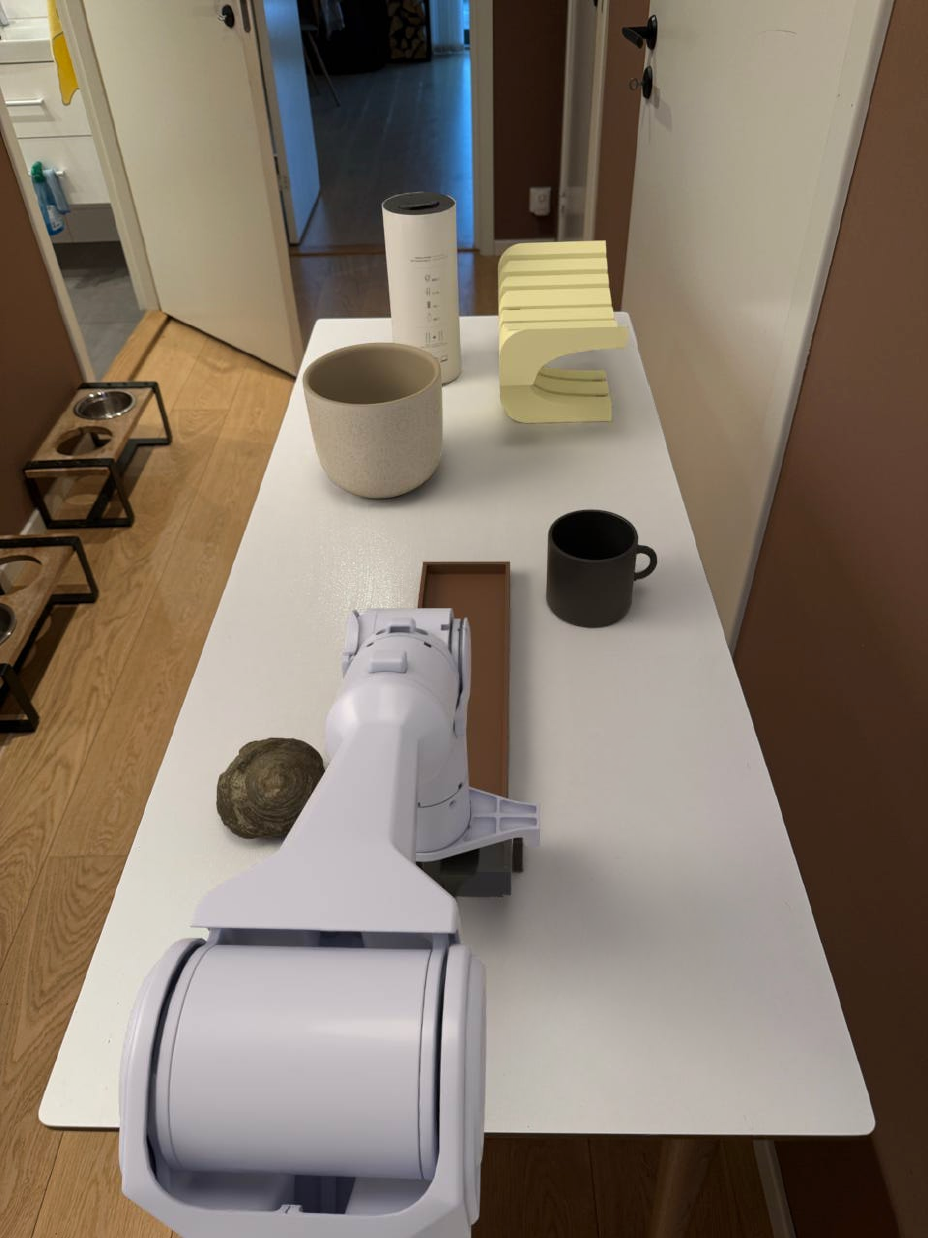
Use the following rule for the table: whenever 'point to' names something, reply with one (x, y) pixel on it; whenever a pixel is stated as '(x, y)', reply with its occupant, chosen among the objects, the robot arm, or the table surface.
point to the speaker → (424, 275)
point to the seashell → (268, 786)
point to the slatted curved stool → (554, 330)
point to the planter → (376, 417)
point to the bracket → (517, 855)
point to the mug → (593, 567)
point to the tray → (480, 658)
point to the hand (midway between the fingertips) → (434, 894)
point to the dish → (483, 872)
